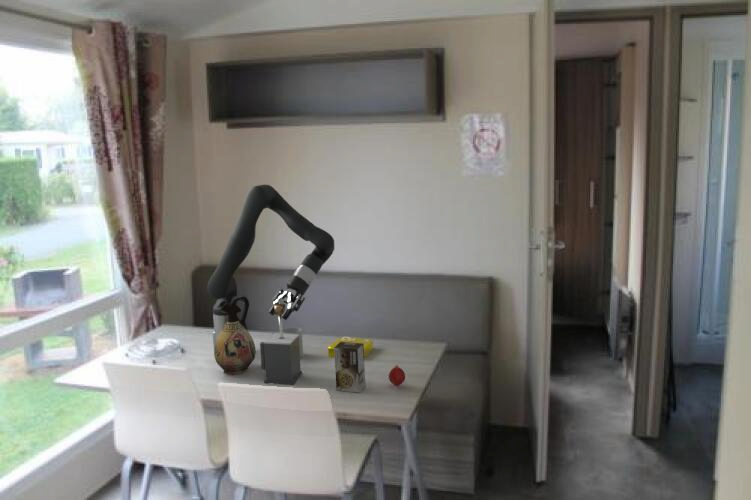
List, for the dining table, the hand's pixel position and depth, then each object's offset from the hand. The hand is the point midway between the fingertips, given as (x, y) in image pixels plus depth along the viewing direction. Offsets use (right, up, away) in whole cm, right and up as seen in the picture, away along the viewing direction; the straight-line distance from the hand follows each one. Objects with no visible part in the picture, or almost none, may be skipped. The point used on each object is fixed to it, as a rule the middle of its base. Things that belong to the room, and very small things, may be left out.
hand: (277, 316), depth 238 cm
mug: (+1, -19, +30) cm, 35 cm away
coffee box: (+27, -25, -6) cm, 37 cm away
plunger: (+1, -15, +4) cm, 15 cm away
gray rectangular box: (0, -23, +6) cm, 24 cm away
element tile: (+26, -19, +32) cm, 45 cm away
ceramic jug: (-17, -23, +14) cm, 32 cm away
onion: (+43, -25, -5) cm, 50 cm away
